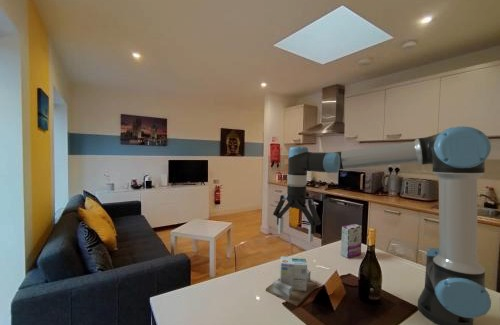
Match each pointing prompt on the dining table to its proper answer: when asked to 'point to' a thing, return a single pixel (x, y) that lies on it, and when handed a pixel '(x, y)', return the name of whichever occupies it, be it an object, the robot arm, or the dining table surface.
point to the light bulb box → (294, 272)
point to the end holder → (291, 291)
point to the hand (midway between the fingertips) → (294, 237)
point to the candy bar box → (351, 240)
